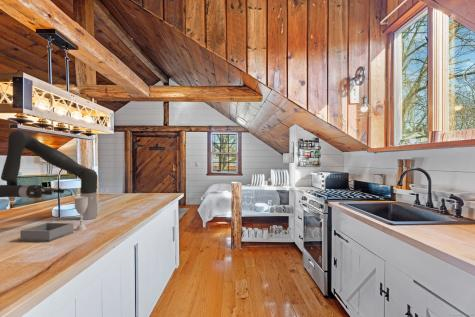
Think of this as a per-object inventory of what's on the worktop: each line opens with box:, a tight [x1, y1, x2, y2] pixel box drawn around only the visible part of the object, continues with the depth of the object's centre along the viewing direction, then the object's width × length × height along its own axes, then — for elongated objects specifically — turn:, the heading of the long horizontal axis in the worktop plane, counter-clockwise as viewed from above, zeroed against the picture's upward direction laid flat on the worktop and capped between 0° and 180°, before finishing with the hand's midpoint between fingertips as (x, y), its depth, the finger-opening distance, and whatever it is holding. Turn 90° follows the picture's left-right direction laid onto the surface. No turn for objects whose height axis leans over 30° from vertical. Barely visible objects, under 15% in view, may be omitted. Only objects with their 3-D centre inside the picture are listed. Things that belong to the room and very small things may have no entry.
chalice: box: [73, 196, 89, 231], centre depth 136 cm, size 7×7×18 cm
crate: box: [19, 222, 74, 243], centre depth 123 cm, size 15×15×5 cm
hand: (57, 191), depth 138 cm, fingers open, 8 cm apart
